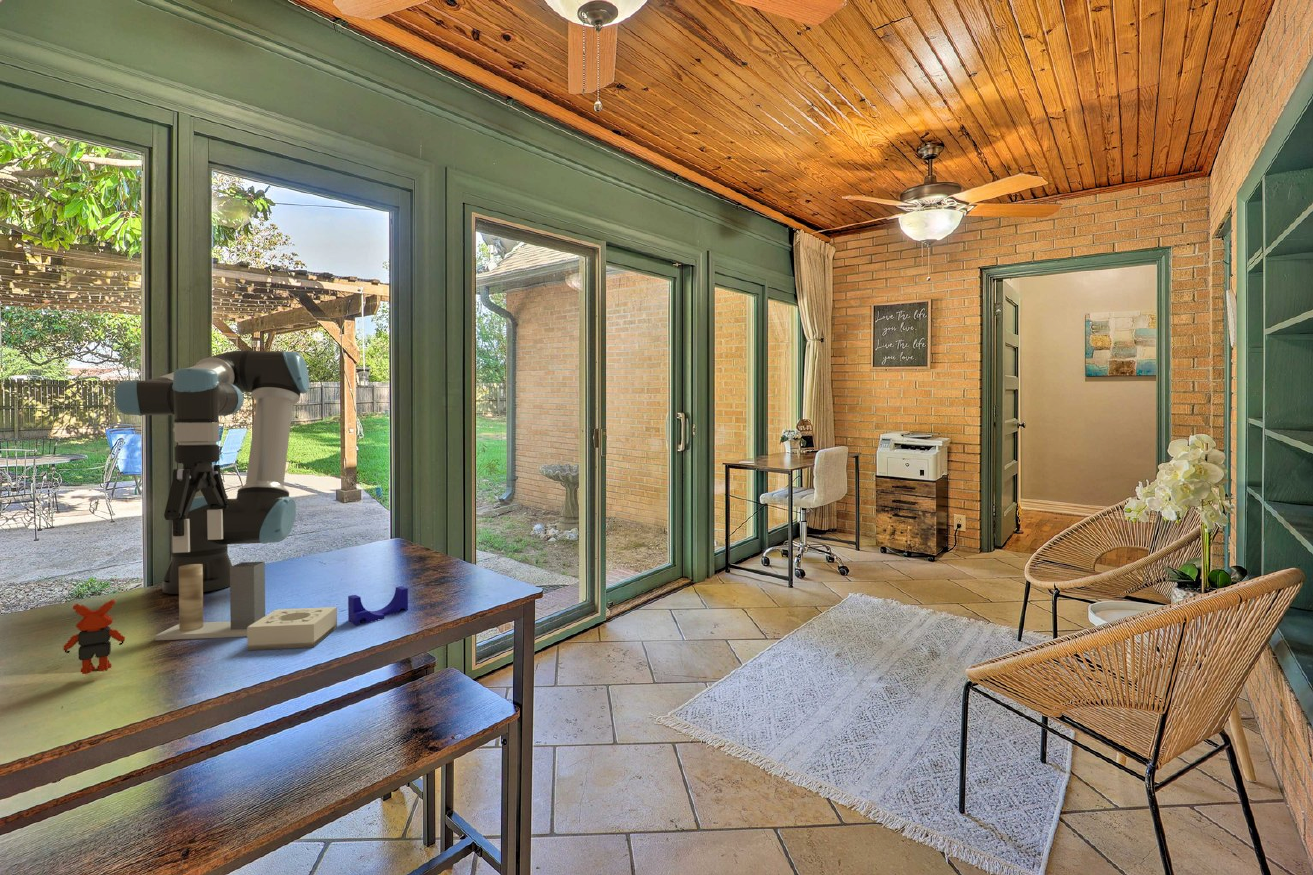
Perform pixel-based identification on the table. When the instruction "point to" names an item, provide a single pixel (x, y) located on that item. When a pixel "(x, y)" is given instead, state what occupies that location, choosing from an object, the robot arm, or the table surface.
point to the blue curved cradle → (359, 612)
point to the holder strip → (202, 632)
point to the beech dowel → (190, 597)
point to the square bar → (247, 594)
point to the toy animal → (94, 637)
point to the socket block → (292, 628)
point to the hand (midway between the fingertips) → (199, 545)
